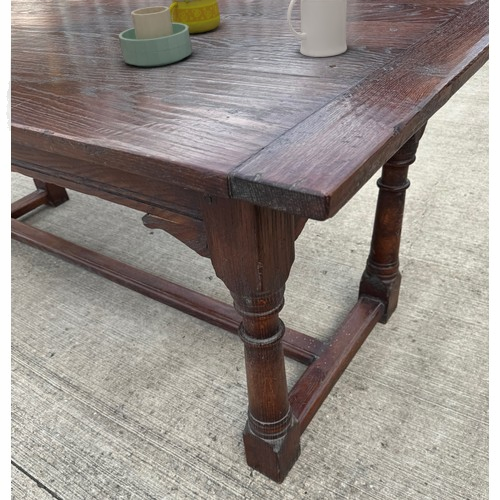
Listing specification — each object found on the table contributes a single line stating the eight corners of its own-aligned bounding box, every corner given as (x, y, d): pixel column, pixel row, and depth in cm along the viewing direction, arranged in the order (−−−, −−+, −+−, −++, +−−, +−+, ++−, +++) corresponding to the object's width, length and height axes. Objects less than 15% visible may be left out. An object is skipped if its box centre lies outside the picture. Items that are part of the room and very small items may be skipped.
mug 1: (201, 22, 122) (193, -35, 115) (231, 27, 115) (225, -33, 108) (157, 34, 116) (146, -25, 108) (186, 40, 109) (176, -23, 102)
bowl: (161, 71, 92) (156, 42, 89) (110, 64, 98) (103, 37, 95) (205, 51, 100) (202, 24, 97) (156, 46, 106) (151, 21, 104)
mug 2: (298, 64, 88) (296, -13, 81) (276, 53, 95) (272, -19, 88) (356, 50, 92) (358, -24, 85) (330, 41, 98) (331, -29, 91)
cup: (159, 61, 95) (151, 15, 90) (132, 58, 98) (123, 13, 93) (183, 51, 99) (176, 6, 95) (156, 48, 103) (149, 5, 98)
